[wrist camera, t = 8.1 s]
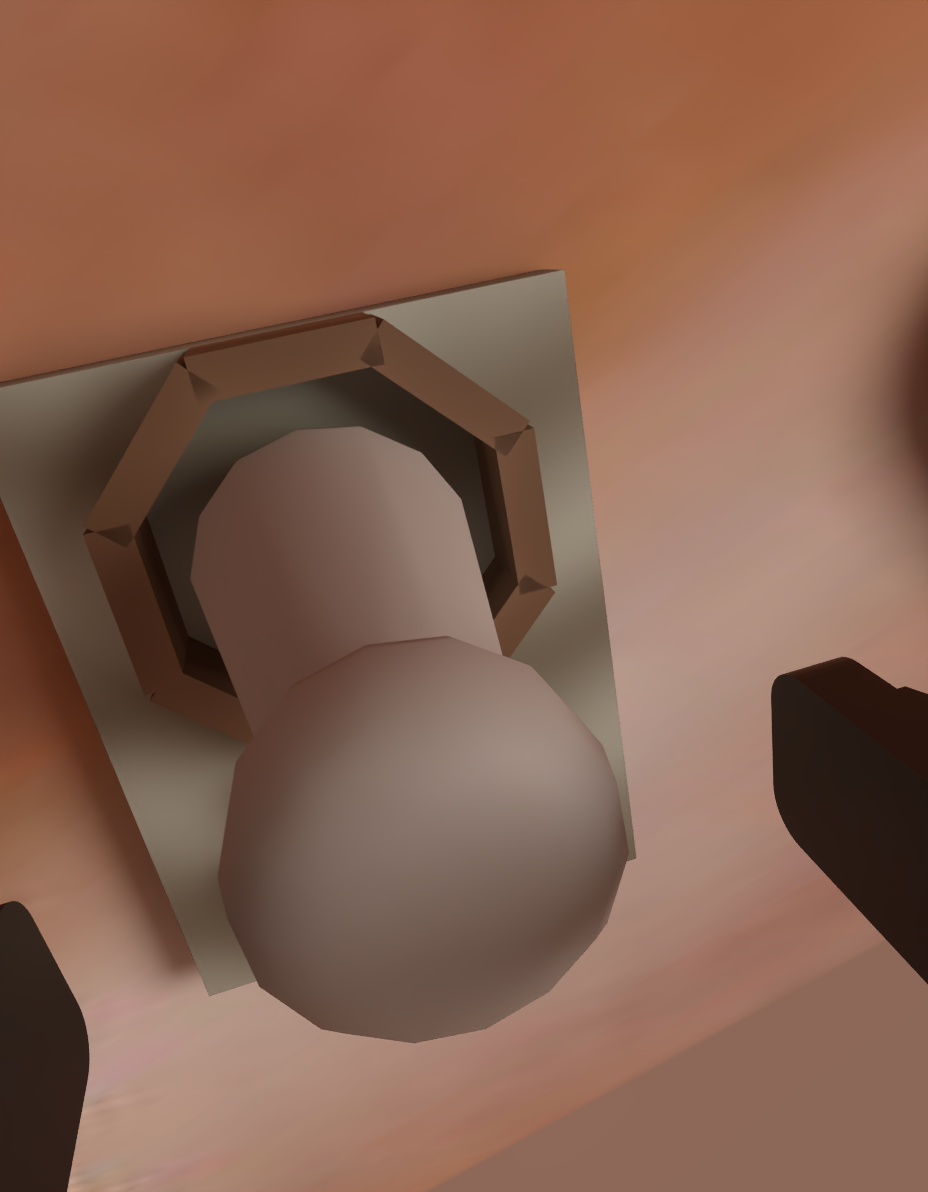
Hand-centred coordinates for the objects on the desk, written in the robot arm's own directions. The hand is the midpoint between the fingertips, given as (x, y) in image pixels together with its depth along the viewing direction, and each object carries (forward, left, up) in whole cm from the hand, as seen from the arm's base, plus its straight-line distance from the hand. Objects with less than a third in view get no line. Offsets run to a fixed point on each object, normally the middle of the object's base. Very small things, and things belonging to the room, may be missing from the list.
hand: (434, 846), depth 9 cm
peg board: (+4, 0, -14) cm, 14 cm away
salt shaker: (0, 0, -12) cm, 12 cm away
